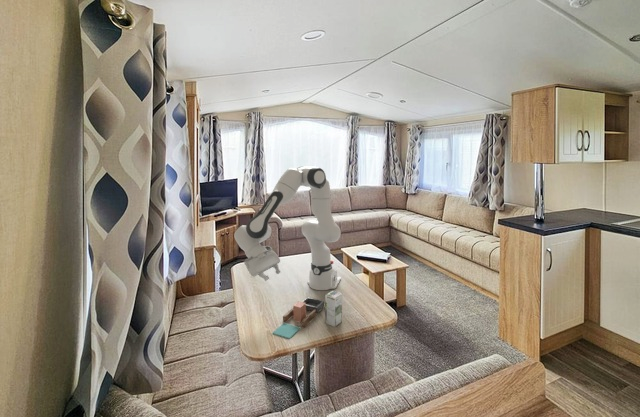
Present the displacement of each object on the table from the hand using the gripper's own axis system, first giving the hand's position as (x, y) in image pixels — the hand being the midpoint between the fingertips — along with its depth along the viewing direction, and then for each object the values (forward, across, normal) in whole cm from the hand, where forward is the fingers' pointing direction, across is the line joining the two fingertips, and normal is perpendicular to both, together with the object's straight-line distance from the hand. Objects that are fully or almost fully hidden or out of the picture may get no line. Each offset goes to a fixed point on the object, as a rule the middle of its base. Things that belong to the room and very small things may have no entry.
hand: (273, 276), depth 151 cm
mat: (+24, -11, +3) cm, 26 cm away
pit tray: (+24, +12, +3) cm, 27 cm away
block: (+24, 0, +3) cm, 24 cm away
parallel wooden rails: (+24, 0, +3) cm, 24 cm away
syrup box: (+35, +4, -8) cm, 36 cm away
